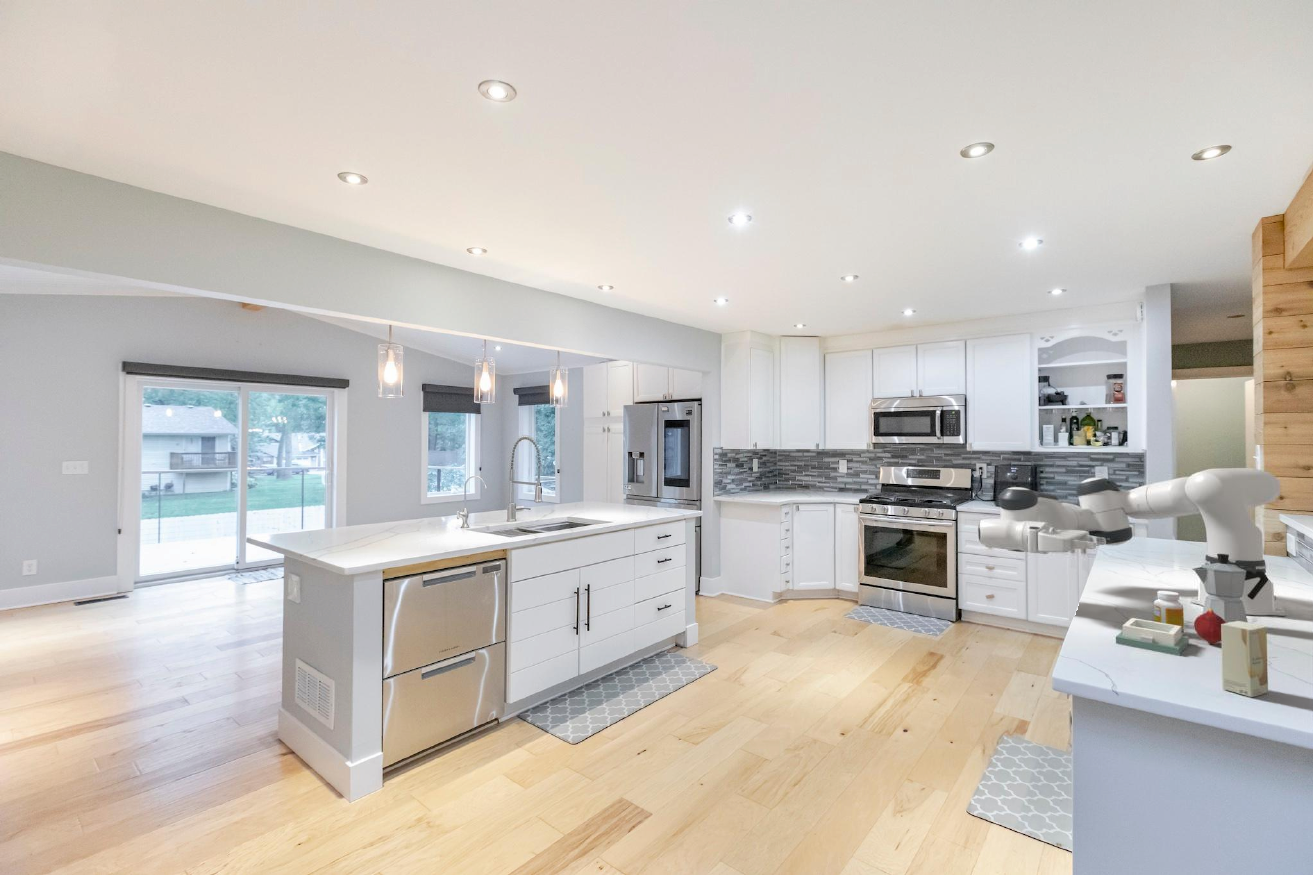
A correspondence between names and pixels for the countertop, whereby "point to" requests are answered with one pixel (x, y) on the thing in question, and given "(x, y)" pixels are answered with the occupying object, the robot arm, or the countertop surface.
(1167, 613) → the supplement bottle
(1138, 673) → the countertop surface
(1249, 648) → the skincare box
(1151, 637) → the board
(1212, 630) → the onion
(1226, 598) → the coffee maker
